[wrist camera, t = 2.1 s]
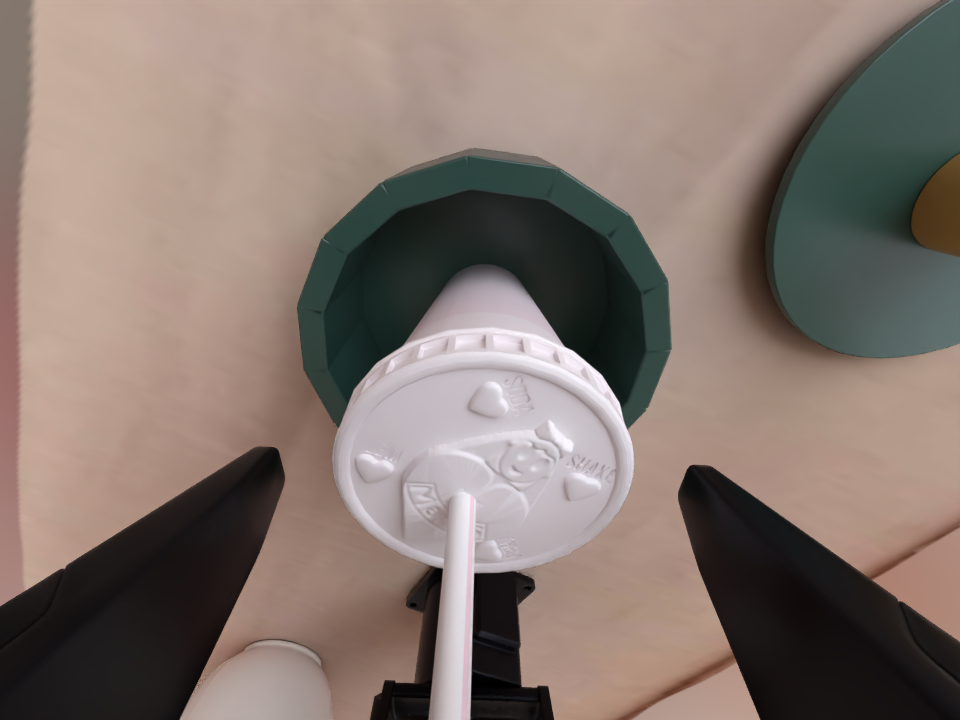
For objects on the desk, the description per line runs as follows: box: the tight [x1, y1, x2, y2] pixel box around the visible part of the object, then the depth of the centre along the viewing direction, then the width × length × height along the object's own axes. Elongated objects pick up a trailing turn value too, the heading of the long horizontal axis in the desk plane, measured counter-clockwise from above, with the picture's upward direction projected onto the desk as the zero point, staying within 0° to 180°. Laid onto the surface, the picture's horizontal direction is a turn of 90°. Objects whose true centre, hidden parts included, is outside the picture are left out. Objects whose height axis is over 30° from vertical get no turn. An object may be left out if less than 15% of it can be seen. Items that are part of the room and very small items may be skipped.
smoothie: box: [332, 264, 634, 720], centre depth 11 cm, size 6×6×14 cm
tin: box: [297, 148, 672, 430], centre depth 15 cm, size 12×12×5 cm
